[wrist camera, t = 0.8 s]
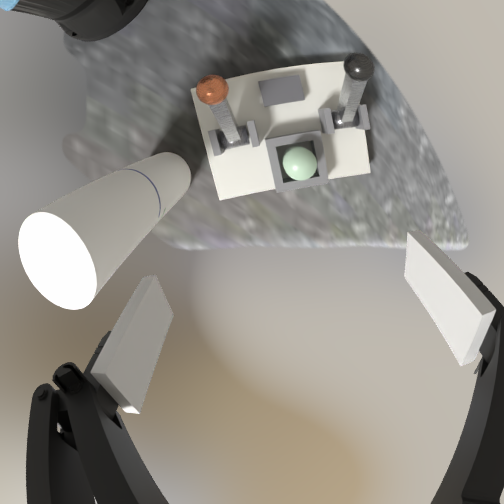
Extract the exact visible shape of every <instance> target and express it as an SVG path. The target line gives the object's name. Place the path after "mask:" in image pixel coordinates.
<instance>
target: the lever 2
mask: <svg viewBox="0 0 504 504" xmlns="http://www.w3.org/2000/svg"><path fill="white" fill-rule="evenodd" d="M343 67H344V71H345V77H344V81H343V86H342V90H341V94H340V98H339V102H338V106H337V110H331V115H332V120H333V125H334V130H336V129H344V128H353V127H358V125H359V119H358V114H357V112H356V110H357V108H358V105H359V102H360V100H361V97H362V94H363V91H364V89H365V86H366V83H367V80H369V79H370V78H371V77H372V76H373V74H374V64H373V62H372V61H371V59H370V58H369V57H368V56H366V55H364V54H361V53H353V54H350V55H348V56H347V57H346V58H345V60H344V64H343Z"/></svg>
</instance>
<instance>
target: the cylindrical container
mask: <svg viewBox="0 0 504 504" xmlns="http://www.w3.org/2000/svg"><path fill="white" fill-rule="evenodd" d="M190 182H191V173H190V169H189V166H188V165H187V163H186V161H185V160H184V159H183V158H182V157H180V156H179V155H177V154H174V153H170V152H163V153H159V154H156V155H154V156H151V157H148V158H146V159H143V160H141V161H138V162H136V163H134V164H131V165H129V166H126V167H124V168H122V169H119V170H117V171H115V172H113V173H110V174H108V175H106V176H104V177H102V178H99V179H97V180H95V181H93V182H91V183H89V184H87V185H85V186H83V187H81V188H79V189H77V190H75V191H73V192H71V193H69V194H67V195H65V196H63V197H61V198H59V199H58V200H56V201H54V202H52V203H50V204H49V205H47V206H45V207H43V208H42V209H40V210H38V211H36V212H35V213H33V214H32V215H30V216H29V217H27V218H26V220H25V221H24V222H23V224H22V226H21V229H20V233H19V238H18V239H19V242H18V243H19V253H20V257H21V261H22V264H23V267H24V269H25V271H26V273H27V275H28V277H29V279H30V280H31V282H32V283H33V284H34V286H35V287H36V288H37V289H38V290H39V291H40V293H41V294H42V295H44V296H45V297H46V298H47V299H49V301H51V302H53V303H54V304H56V305H58V306H60V307H63V308H66V309H75V310H76V309H81V308H84V307H85V306H87V305H89V303H90V302H91V301H92V300H93V299H94V297H95V296H96V294H97V293H98V292H99V291H100V290H101V288H102V287H103V286H104V285H105V283H106V282H107V281H108V280H109V278H110V277H111V276H112V275H113V273H114V272H115V271H116V270H117V268H118V267H119V266H120V265H121V264H122V263H123V261H124V260H125V259H126V258H127V257H128V255H129V254H130V253H131V252H132V251H133V249H134V248H135V247H136V246H137V245H138V244H139V243H140V242H141V240H142V239H143V238H144V237H145V236H146V235H147V234H148V233H149V232H150V230H151V229H152V228H153V227H154V226H155V225H156V224H157V223H158V222H159V221H160V219H161V218H162V217H163V216H164V215H165V214H166V213H167V212H168V211H169V210H170V209H171V208H172V207H173V206H174V205H175V203H176V202H177V201H178V200H179V199H180V198H181V197H182V196H183V195H184V194H185V193H186V192H187V190H188V188H189V186H190Z"/></svg>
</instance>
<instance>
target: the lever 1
mask: <svg viewBox="0 0 504 504" xmlns="http://www.w3.org/2000/svg"><path fill="white" fill-rule="evenodd" d="M228 92H229V86H228V83H227V82H226V80H225V79H224V78H222V77H221V76H218V75H208V76H205V77H204V78H202V79H201V80H200V81H199V82H198V84H197V87H196V94H197V97H198V98H199V100H200V101H201V102H203V103H205V104H208V105H209V107H210V109H211V110H212V112H213V114H214V116H215V118H216V120H217V121H218V123H219V125H220V127H221V129H222V131H220V138H221V142H222V146H223V148H224V150H227V149H231V148H236V147H240V146H245V145H249V144H250V140H249V135H248V131H247V128H246V125H243V126H238V124H237V122H236V119H235V117H234V114H233V112H232V110H231V107H230V105H229V103H228V100H227V98H226V97H227V95H228Z"/></svg>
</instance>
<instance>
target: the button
mask: <svg viewBox="0 0 504 504" xmlns="http://www.w3.org/2000/svg"><path fill="white" fill-rule="evenodd" d="M282 164H283V167H284V169H285V171H286V173H287V174H288V175H289V176H290V177H291V178H293V179H295V180H301V181H302V180H306V179H309V178H310V177H311V176H313V174H314V173H315V171H316V169H317V160H316V158H315V156H314V154H313V153H312V152H311V151H309V150H308V149H306V148H304V147H302V146H292V147H290V148H288V149H287V150H286V151H285V152H284V154H283V157H282Z"/></svg>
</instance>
